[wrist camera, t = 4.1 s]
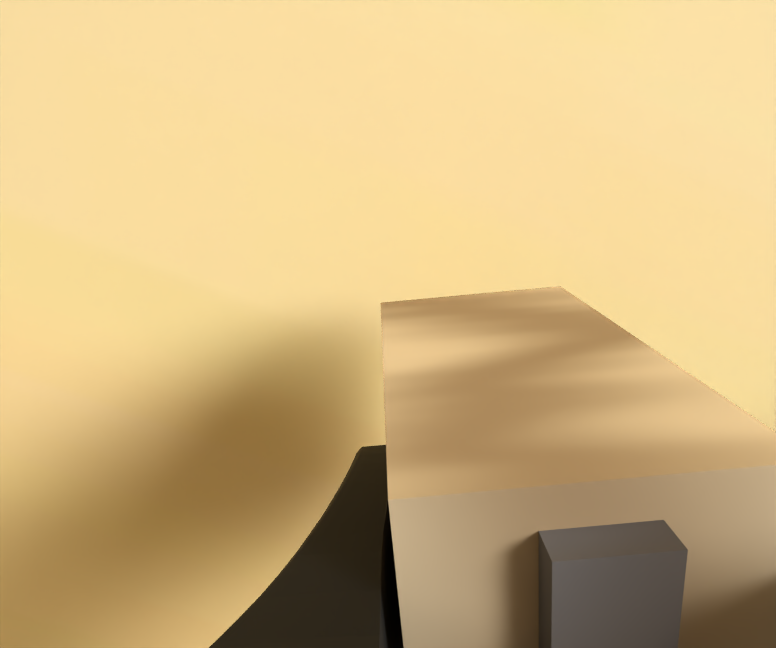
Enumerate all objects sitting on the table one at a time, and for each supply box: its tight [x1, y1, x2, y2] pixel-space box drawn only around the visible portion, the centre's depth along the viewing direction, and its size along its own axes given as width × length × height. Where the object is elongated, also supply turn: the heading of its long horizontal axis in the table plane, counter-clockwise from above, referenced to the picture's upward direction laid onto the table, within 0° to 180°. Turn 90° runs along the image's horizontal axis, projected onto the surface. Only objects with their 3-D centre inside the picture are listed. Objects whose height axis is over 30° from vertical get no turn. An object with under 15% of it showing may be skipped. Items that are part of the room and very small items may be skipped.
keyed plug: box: [381, 286, 776, 648], centre depth 9 cm, size 4×6×7 cm, turn 5°
